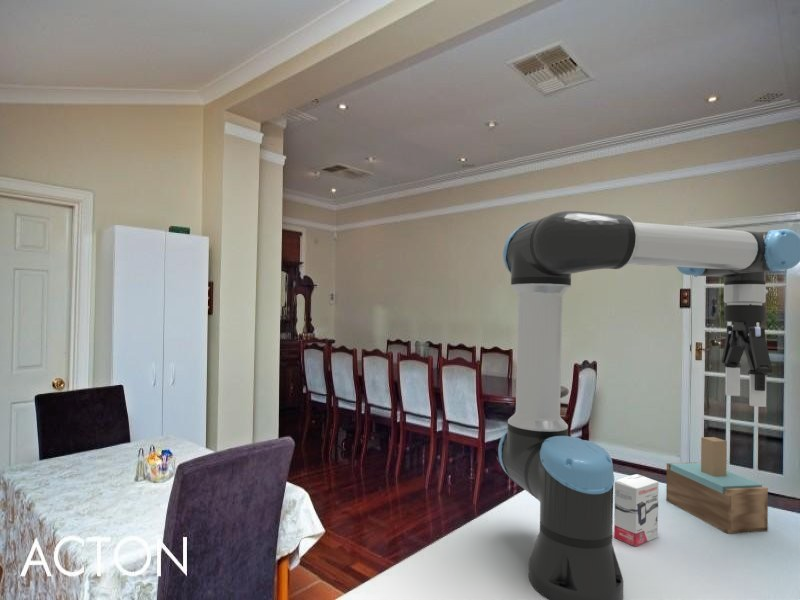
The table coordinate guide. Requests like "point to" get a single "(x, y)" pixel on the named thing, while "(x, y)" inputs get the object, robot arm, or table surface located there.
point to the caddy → (720, 504)
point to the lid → (713, 468)
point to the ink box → (636, 509)
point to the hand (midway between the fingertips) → (744, 400)
